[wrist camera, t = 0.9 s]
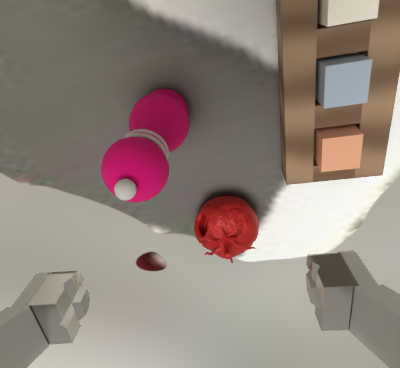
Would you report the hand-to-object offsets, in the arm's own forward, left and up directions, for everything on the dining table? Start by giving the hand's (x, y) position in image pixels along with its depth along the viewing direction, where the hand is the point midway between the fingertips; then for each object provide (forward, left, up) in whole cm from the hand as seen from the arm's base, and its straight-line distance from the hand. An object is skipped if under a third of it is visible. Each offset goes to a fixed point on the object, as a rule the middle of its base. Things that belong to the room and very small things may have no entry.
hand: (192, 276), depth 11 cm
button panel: (+2, +13, -32) cm, 35 cm away
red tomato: (+22, -2, -32) cm, 39 cm away
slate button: (+2, +13, -29) cm, 32 cm away
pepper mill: (+4, -8, -32) cm, 33 cm away
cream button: (-6, +13, -29) cm, 33 cm away
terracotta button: (+10, +13, -29) cm, 34 cm away
